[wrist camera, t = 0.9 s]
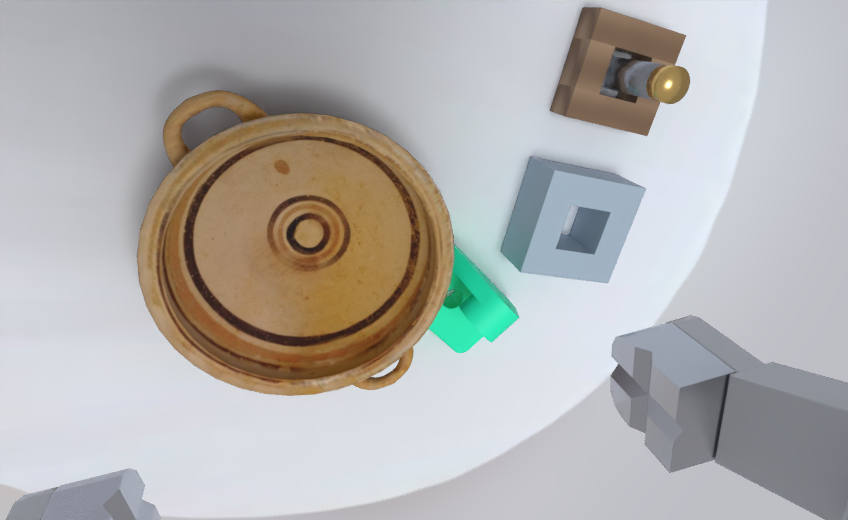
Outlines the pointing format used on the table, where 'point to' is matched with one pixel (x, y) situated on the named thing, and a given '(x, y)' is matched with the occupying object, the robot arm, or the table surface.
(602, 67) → the pin mount
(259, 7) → the table surface
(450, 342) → the camera mount
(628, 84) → the lock pin
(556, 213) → the dock
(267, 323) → the ceramic bowl
